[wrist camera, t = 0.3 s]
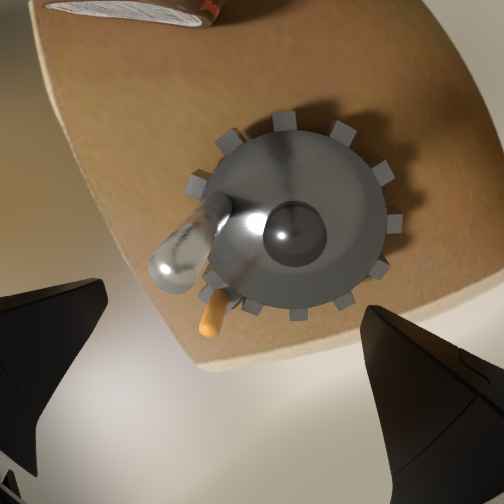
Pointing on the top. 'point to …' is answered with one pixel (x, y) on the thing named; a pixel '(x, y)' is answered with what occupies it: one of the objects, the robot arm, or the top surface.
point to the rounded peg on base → (216, 307)
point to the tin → (145, 10)
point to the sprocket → (283, 220)
